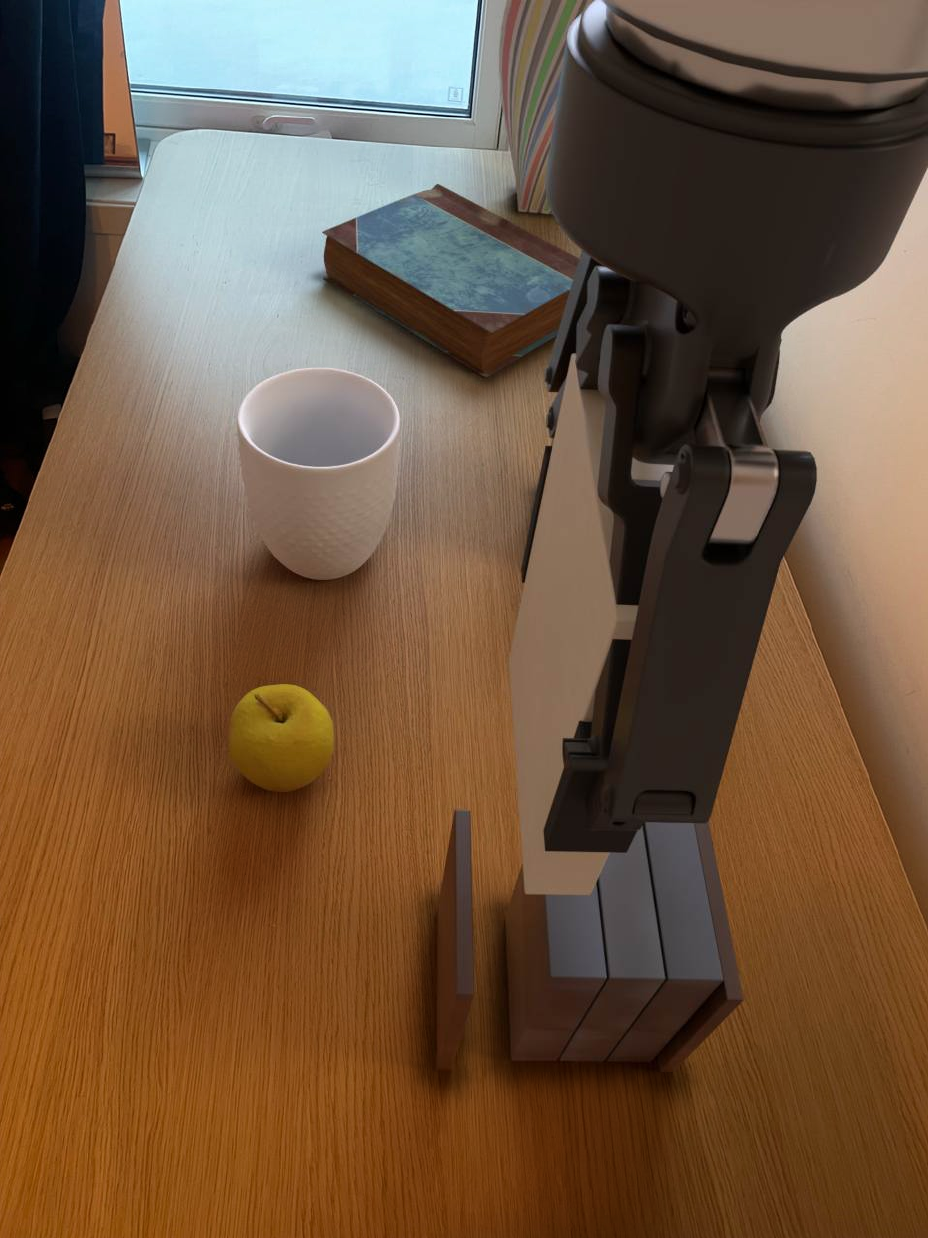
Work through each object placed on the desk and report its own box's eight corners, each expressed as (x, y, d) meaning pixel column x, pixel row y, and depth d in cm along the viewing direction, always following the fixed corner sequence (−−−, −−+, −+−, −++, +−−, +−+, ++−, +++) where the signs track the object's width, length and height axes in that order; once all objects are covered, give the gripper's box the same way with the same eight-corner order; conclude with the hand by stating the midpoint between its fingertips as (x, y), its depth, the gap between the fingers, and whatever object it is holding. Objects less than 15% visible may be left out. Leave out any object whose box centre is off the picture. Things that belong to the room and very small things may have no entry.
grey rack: (650, 911, 56) (714, 807, 47) (673, 1072, 51) (752, 992, 41) (437, 906, 55) (456, 798, 45) (436, 1070, 50) (458, 987, 40)
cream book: (563, 661, 42) (649, 357, 30) (590, 895, 35) (716, 623, 23) (508, 659, 42) (571, 352, 30) (524, 895, 35) (615, 619, 23)
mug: (328, 457, 80) (325, 322, 70) (442, 506, 77) (456, 373, 67) (221, 566, 71) (201, 429, 61) (346, 625, 68) (345, 492, 58)
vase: (482, 226, 108) (518, -93, 85) (480, 171, 116) (512, -131, 93) (598, 236, 109) (665, -76, 86) (588, 181, 117) (645, -116, 94)
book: (594, 313, 98) (604, 269, 94) (484, 379, 89) (490, 333, 85) (436, 225, 107) (439, 181, 103) (320, 277, 98) (319, 232, 94)
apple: (224, 744, 61) (210, 671, 55) (320, 719, 63) (316, 646, 57) (246, 829, 57) (233, 761, 51) (347, 800, 59) (346, 731, 53)
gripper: (530, -146, 25) (459, 476, 42) (681, 398, 10) (477, 1028, 27) (801, -117, 26) (625, 484, 42) (1330, 436, 11) (732, 1028, 27)
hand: (567, 695), depth 35 cm, fingers closed on cream book, 11 cm apart
